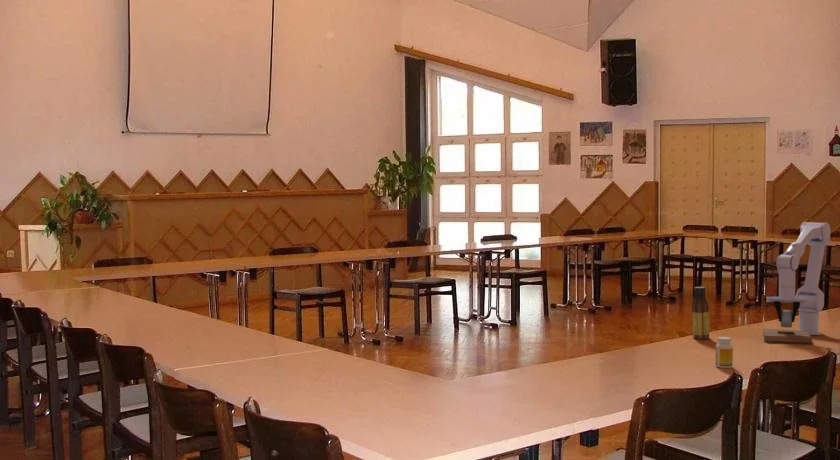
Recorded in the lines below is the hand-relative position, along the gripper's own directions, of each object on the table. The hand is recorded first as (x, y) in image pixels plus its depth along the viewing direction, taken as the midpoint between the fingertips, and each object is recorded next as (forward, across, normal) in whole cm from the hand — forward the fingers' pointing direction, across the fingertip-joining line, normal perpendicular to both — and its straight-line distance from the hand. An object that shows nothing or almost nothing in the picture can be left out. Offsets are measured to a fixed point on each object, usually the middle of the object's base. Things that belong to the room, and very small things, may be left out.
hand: (786, 321), depth 351 cm
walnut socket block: (+7, 0, 0) cm, 7 cm away
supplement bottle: (+7, -22, -58) cm, 62 cm away
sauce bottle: (+7, -31, -6) cm, 32 cm away
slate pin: (+2, 0, 0) cm, 2 cm away
